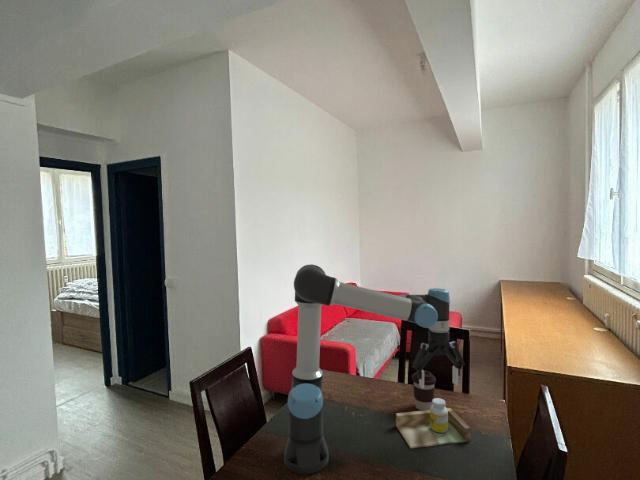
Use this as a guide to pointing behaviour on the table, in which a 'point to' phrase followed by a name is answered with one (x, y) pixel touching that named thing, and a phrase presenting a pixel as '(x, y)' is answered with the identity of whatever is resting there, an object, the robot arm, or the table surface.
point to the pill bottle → (438, 417)
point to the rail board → (420, 434)
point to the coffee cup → (424, 391)
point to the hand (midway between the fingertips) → (438, 385)
